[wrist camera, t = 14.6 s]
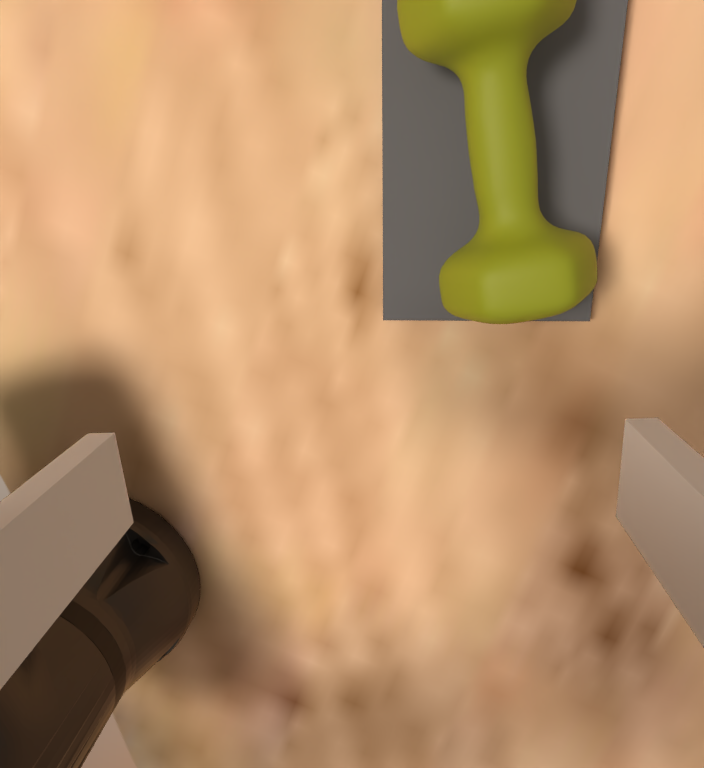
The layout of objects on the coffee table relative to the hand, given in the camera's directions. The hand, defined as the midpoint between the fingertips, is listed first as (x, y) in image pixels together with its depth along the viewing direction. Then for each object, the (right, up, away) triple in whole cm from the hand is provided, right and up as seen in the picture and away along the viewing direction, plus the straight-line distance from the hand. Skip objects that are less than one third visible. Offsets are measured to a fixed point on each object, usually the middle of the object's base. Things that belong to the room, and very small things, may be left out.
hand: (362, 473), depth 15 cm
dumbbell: (+7, +15, +16) cm, 23 cm away
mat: (+8, +16, +17) cm, 24 cm away
